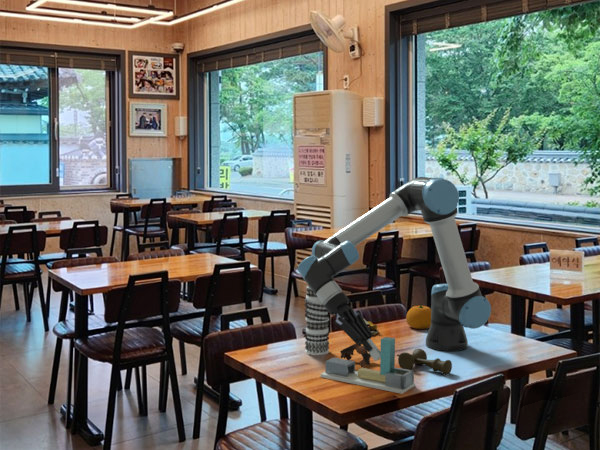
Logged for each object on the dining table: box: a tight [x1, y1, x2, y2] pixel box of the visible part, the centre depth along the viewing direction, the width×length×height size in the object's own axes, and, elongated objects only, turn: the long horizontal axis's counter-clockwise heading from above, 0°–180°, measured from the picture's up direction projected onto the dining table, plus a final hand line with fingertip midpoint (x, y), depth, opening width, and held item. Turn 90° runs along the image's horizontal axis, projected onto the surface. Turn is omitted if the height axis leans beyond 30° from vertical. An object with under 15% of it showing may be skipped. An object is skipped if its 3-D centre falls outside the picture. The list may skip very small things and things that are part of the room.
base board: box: [320, 370, 416, 395], centre depth 232 cm, size 28×9×1 cm, turn 56°
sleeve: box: [324, 357, 356, 377], centre depth 237 cm, size 8×5×4 cm, turn 56°
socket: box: [385, 366, 415, 390], centre depth 225 cm, size 6×7×4 cm
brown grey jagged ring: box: [339, 342, 372, 368], centre depth 252 cm, size 12×10×8 cm
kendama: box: [396, 348, 453, 376], centre depth 245 cm, size 6×10×20 cm
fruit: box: [405, 303, 431, 330], centre depth 301 cm, size 12×12×10 cm
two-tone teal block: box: [357, 336, 396, 382], centre depth 228 cm, size 14×3×13 cm, turn 56°
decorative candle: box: [303, 284, 331, 356], centre depth 264 cm, size 9×9×25 cm
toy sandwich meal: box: [363, 318, 379, 336], centre depth 293 cm, size 12×14×5 cm
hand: (379, 358), depth 228 cm, fingers closed
